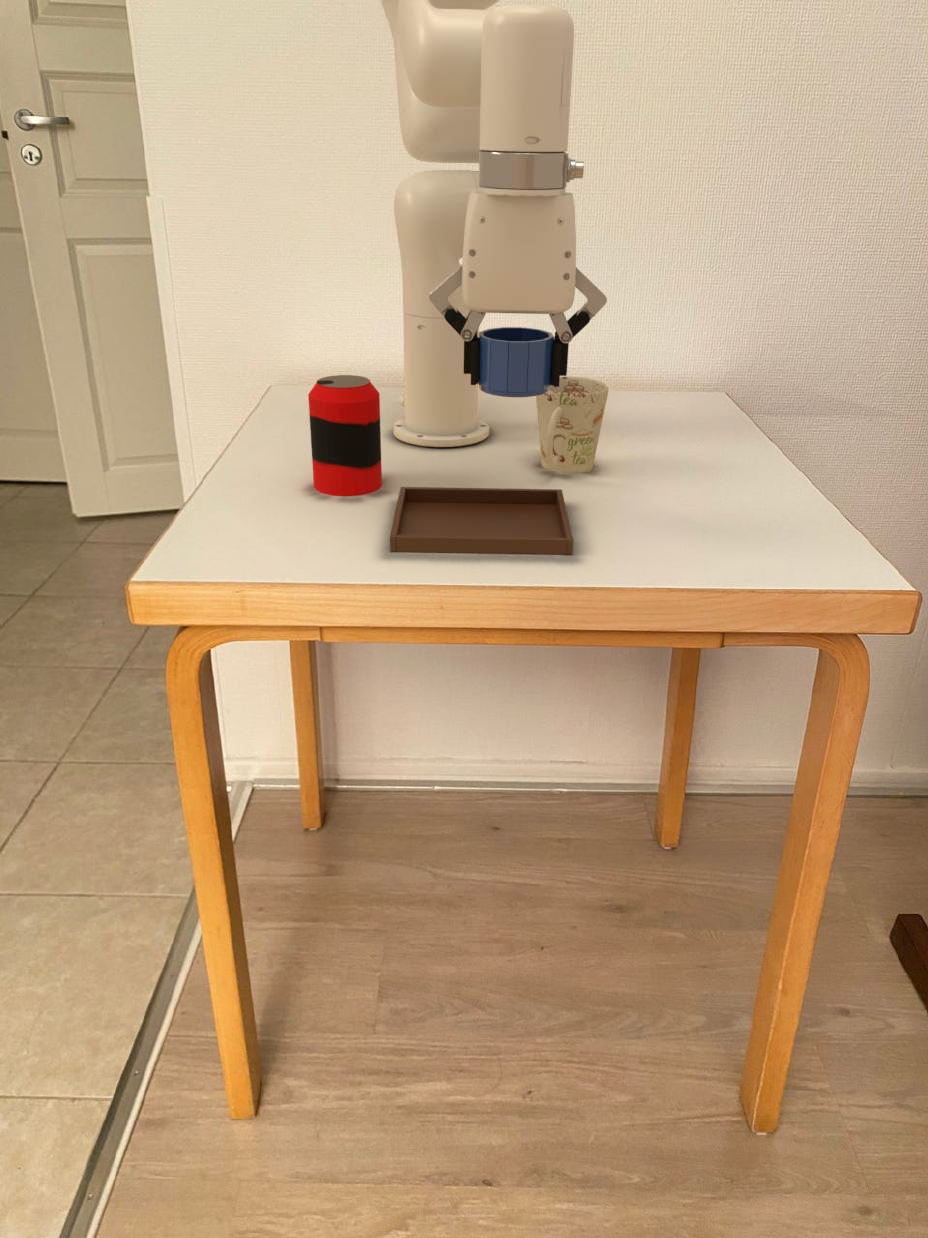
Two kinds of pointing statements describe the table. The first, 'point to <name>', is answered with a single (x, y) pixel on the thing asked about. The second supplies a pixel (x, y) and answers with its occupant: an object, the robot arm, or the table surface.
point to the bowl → (515, 361)
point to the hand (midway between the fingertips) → (514, 381)
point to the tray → (481, 521)
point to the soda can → (345, 435)
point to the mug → (571, 424)
